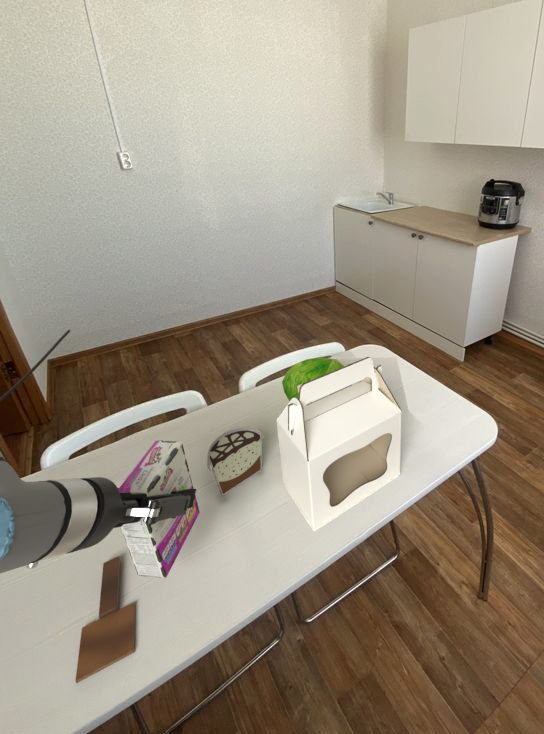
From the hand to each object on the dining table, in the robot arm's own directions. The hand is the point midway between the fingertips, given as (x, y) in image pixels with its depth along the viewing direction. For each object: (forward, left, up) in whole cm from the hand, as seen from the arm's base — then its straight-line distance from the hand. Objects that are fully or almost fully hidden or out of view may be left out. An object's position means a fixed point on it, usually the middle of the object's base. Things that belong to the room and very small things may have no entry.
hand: (176, 496), depth 65 cm
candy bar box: (+3, -2, -6) cm, 7 cm away
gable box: (0, +31, -13) cm, 34 cm away
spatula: (+3, -12, -13) cm, 18 cm away
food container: (-13, +11, -13) cm, 22 cm away
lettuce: (-25, +36, -13) cm, 46 cm away
